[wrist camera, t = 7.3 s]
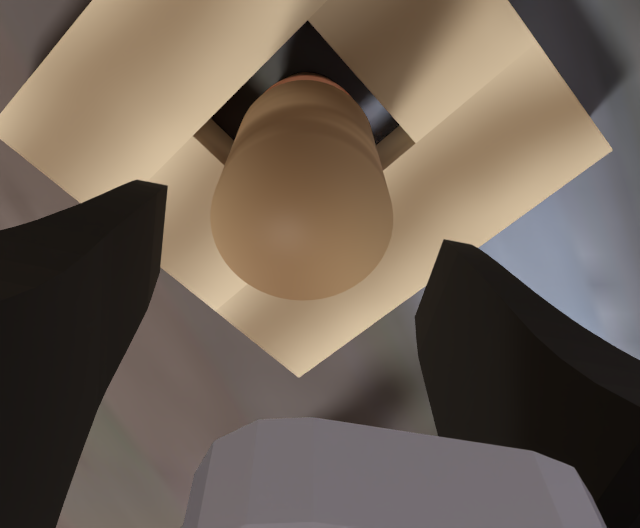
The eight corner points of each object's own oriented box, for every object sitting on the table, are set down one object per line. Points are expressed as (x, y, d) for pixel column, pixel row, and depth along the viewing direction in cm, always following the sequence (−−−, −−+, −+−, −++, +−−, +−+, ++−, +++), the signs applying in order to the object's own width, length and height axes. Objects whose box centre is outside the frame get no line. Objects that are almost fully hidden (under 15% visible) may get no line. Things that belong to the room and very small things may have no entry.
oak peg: (374, 63, 20) (412, 150, 12) (353, 173, 22) (373, 310, 14) (256, 44, 20) (216, 120, 12) (245, 158, 21) (205, 288, 14)
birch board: (582, 126, 21) (612, 150, 19) (300, 339, 26) (298, 377, 24) (315, -249, 16) (314, -276, 14) (22, 106, 20) (-13, 128, 18)
